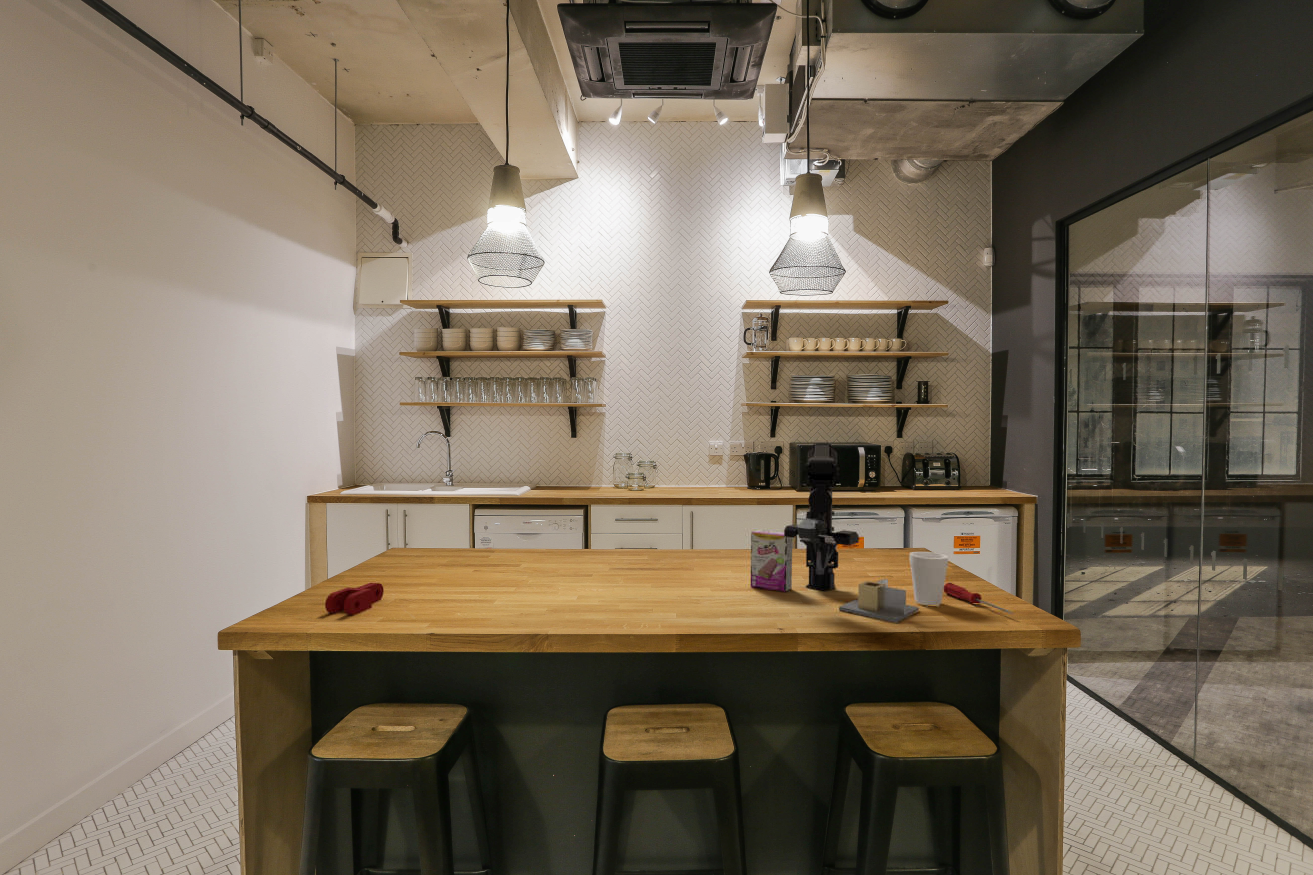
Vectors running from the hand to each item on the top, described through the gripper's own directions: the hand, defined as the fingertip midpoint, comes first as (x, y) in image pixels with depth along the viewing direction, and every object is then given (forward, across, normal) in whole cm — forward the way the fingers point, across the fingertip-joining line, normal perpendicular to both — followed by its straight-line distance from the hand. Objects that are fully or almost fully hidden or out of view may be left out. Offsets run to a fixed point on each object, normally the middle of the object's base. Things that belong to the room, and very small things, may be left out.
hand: (820, 567), depth 167 cm
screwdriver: (+11, +29, +31) cm, 44 cm away
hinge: (+10, +14, +9) cm, 20 cm away
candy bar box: (+11, -20, +8) cm, 24 cm away
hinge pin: (+2, 0, 0) cm, 2 cm away
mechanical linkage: (+11, -86, -82) cm, 120 cm away
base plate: (+10, +12, +8) cm, 18 cm away
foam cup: (+11, +19, +24) cm, 32 cm away
